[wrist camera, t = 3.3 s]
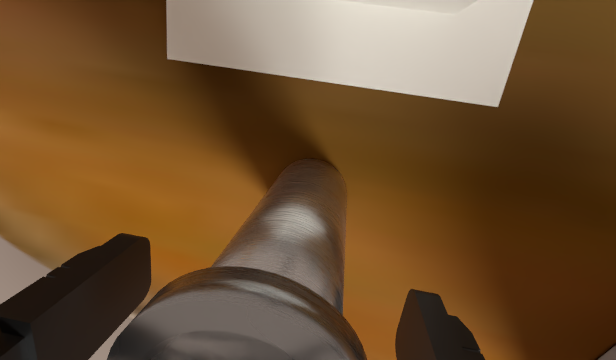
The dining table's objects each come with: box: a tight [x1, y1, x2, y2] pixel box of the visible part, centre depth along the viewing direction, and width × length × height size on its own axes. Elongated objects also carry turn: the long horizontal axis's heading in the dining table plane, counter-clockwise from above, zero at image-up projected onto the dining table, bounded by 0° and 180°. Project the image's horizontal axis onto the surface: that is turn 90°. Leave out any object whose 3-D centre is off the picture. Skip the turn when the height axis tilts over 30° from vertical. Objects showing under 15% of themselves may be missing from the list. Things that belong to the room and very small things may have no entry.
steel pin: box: [107, 159, 367, 360], centre depth 11 cm, size 5×5×12 cm
